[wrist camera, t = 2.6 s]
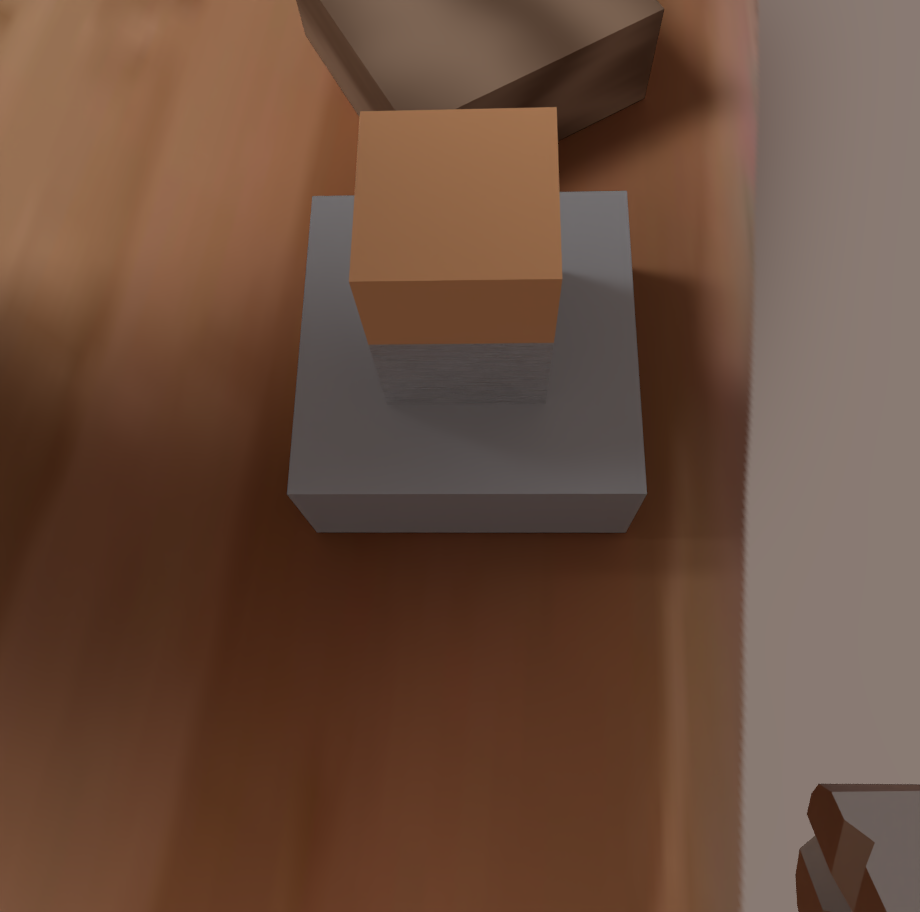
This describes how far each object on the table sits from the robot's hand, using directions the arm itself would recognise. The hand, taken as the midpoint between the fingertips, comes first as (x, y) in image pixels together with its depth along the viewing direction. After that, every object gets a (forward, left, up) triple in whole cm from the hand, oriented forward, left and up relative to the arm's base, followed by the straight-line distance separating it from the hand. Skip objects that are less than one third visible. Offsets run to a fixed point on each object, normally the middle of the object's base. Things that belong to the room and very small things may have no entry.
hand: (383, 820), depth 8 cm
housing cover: (-9, +12, -13) cm, 20 cm away
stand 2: (-9, +12, -23) cm, 27 cm away
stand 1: (-19, +26, -23) cm, 39 cm away
